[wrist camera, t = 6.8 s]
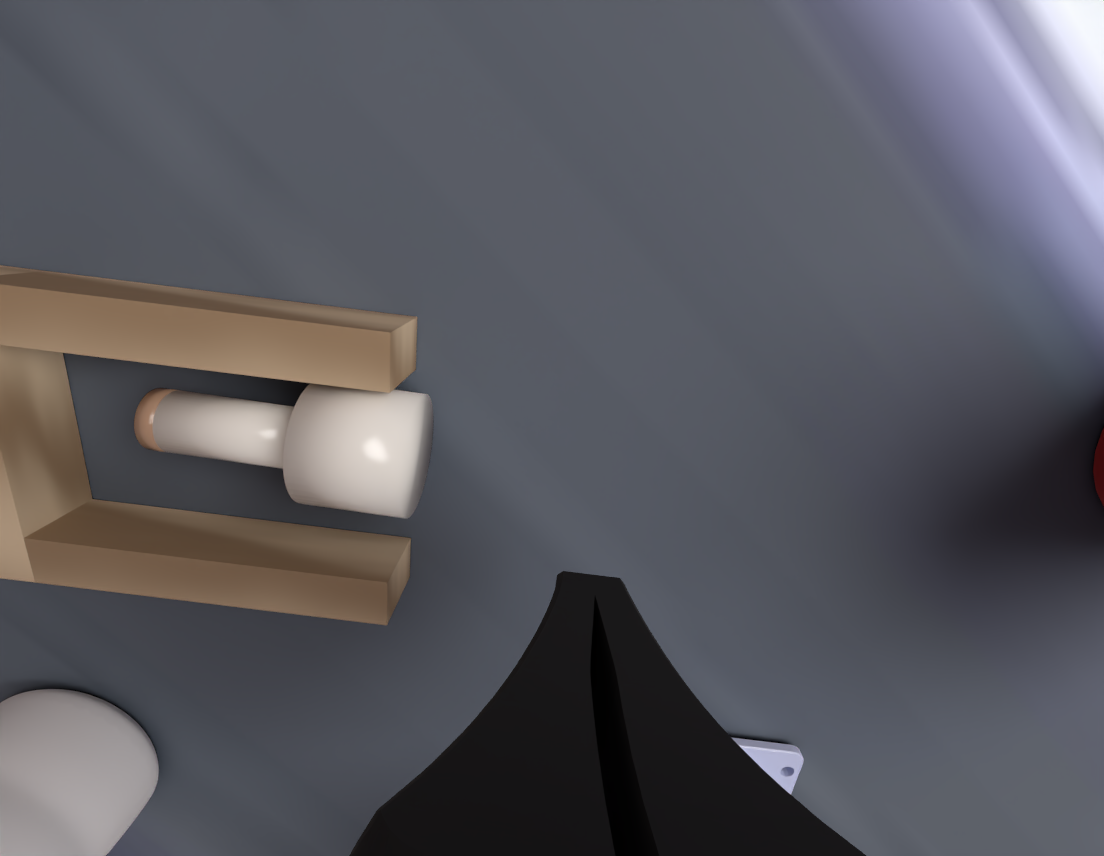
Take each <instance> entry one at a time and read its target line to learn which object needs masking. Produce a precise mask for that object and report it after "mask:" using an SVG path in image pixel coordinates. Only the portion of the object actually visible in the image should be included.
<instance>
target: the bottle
mask: <svg viewBox="0 0 1104 856" xmlns="http://www.w3.org/2000/svg"><path fill="white" fill-rule="evenodd" d="M134 430H135V435H136V438H137V440H138V441H139V443H140V444H141V445H142V446H143V447H144V448H146V449H149V450H155V451H162V452H169V453H176V454H183V455H190V456H197V457H204V458H212V459H219V460H226V461H233V462H240V463H247V464H254V465H261V466H268V467H275V468H282V469H283V474H284V481H285V485H286V489H287V491H288V493H289V495H290V497H291V498H292V499H293V500H294V501H295V502H297V503H300V504H307V505H314V506H321V507H328V508H335V509H342V510H349V511H356V512H363V513H370V514H377V515H385V516H392V517H399V518H406V519H407V518H409V517H410V516H411V515H412V514H413V513H414V511H415V509H416V507H417V505H418V503H419V500H420V497H421V494H422V491H423V488H424V485H425V481H426V477H427V472H428V467H429V462H430V456H431V449H432V440H433V407H432V402H431V399H430V397H429V395H428V394H422V393H415V392H408V391H401V390H394V389H393V390H392V391H391V392H390V393H386V392H378V391H370V390H362V389H354V388H345V387H337V386H329V385H321V384H313V383H310V384H309V385H308V386H307V387H306V388H305V389H304V391H303V392H302V394H301V395H300V397H299V398H298V400H297V402H296V404H295V406H294V407H293V406H286V405H279V404H272V403H265V402H258V401H251V400H244V399H237V398H230V397H223V396H216V395H209V394H202V393H195V392H188V391H181V390H174V389H167V388H156V389H154V390H151V391H150V392H148V393H147V394H146V395H145V396H144V397H143V399H142V400H141V402H140V403H139V405H138V408H137V410H136V414H135V419H134Z"/></svg>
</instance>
